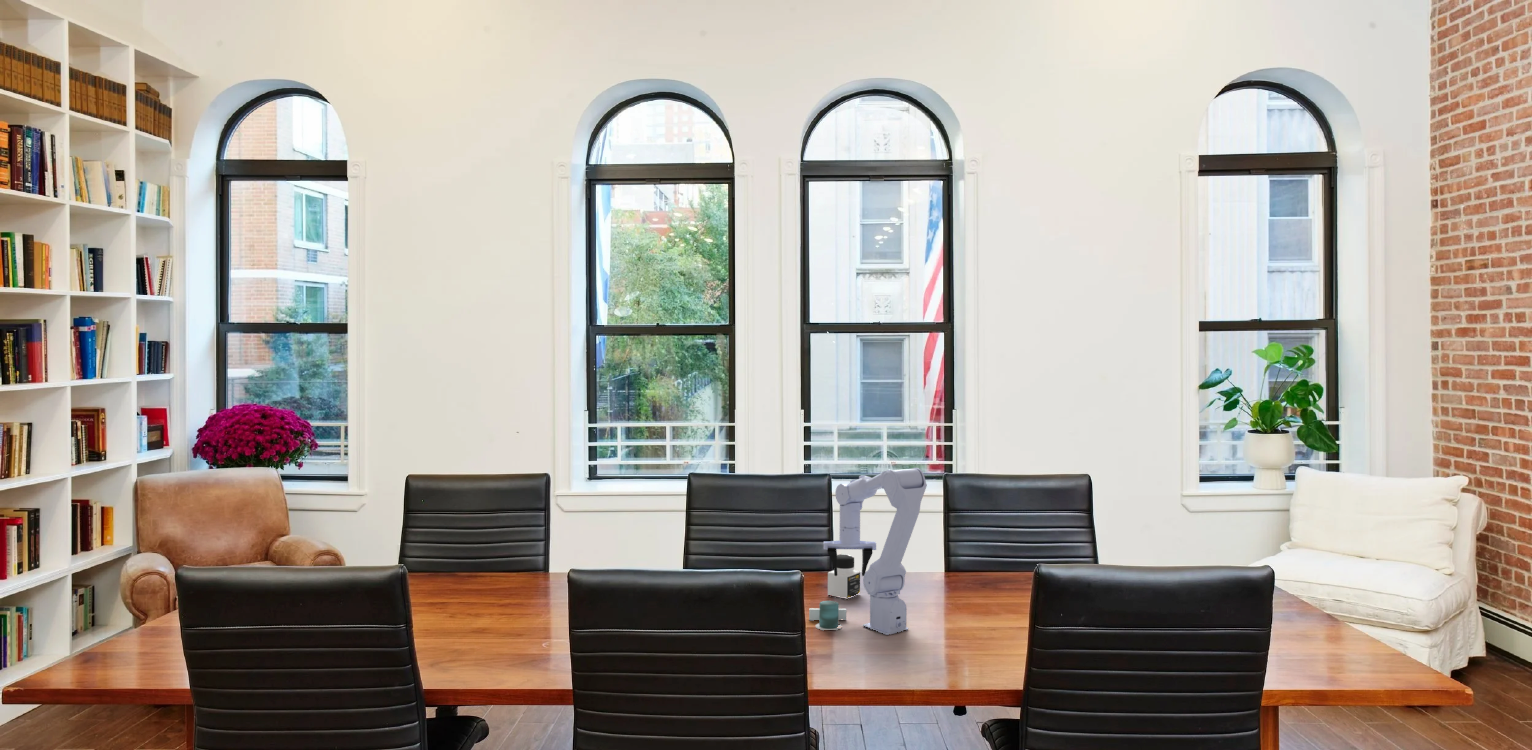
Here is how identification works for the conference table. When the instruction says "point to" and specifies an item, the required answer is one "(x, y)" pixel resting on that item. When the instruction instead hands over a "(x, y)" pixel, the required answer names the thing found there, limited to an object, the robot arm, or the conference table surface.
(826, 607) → the teal cylinder
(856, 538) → the robot arm
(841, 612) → the divider wall
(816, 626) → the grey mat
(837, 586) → the medicine bottle
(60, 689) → the conference table surface
